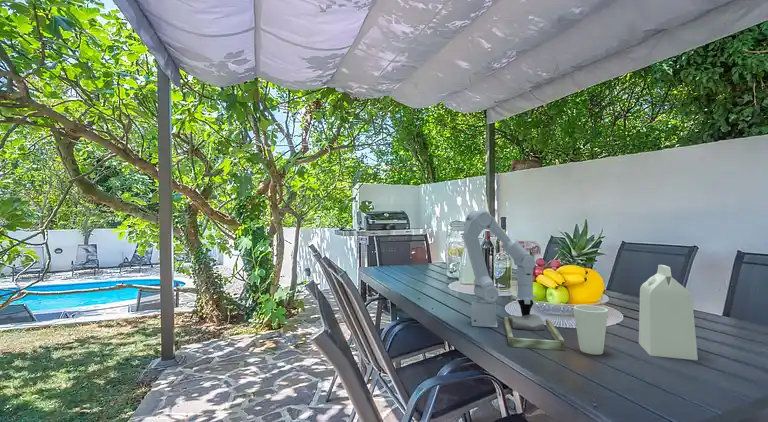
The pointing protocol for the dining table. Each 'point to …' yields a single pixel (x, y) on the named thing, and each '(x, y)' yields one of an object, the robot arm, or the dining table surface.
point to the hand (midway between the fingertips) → (525, 318)
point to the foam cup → (591, 327)
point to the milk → (666, 317)
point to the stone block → (526, 322)
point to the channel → (536, 343)
